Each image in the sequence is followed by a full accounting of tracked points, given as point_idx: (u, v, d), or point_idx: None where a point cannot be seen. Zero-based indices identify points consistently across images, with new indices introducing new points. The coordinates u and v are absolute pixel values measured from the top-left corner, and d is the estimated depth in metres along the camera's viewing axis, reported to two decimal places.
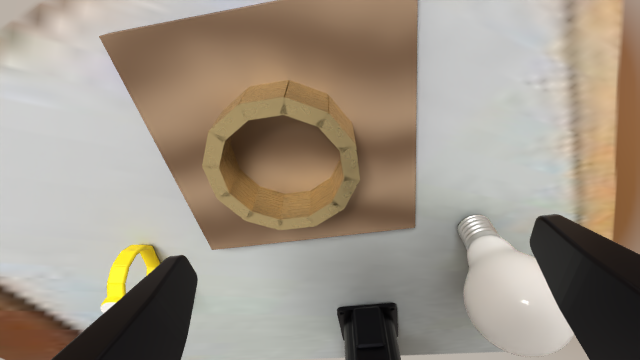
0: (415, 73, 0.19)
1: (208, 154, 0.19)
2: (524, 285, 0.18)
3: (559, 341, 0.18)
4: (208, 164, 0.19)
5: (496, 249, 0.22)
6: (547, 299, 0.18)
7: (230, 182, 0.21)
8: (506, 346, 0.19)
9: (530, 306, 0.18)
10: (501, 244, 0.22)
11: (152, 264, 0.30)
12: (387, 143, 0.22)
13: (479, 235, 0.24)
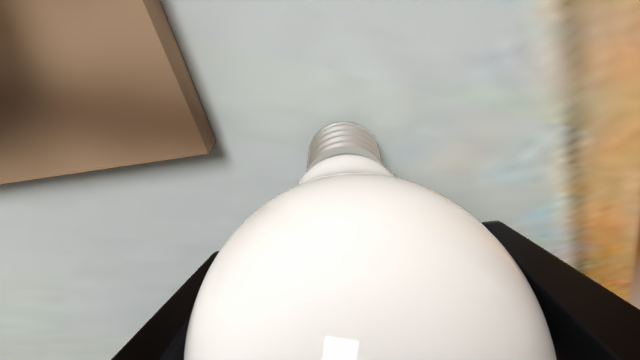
0: None
1: None
2: (298, 275, 0.04)
3: None
4: None
5: (327, 175, 0.07)
6: (383, 351, 0.03)
7: None
8: None
9: None
10: (352, 166, 0.08)
11: None
12: None
13: (322, 157, 0.10)
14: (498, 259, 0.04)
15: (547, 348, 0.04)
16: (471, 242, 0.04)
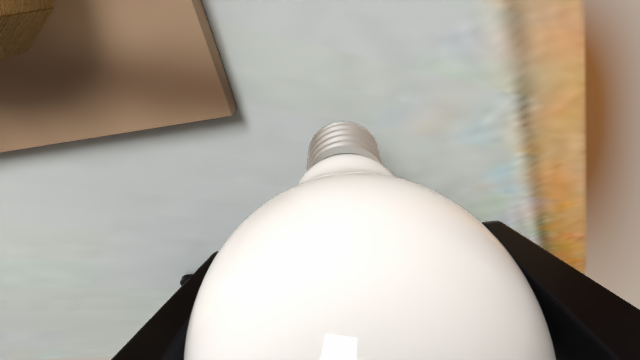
0: None
1: None
2: (298, 273, 0.04)
3: None
4: None
5: (327, 175, 0.07)
6: (382, 350, 0.03)
7: None
8: None
9: None
10: (352, 165, 0.08)
11: None
12: None
13: (322, 157, 0.10)
14: (497, 258, 0.04)
15: (546, 347, 0.04)
16: (471, 241, 0.04)
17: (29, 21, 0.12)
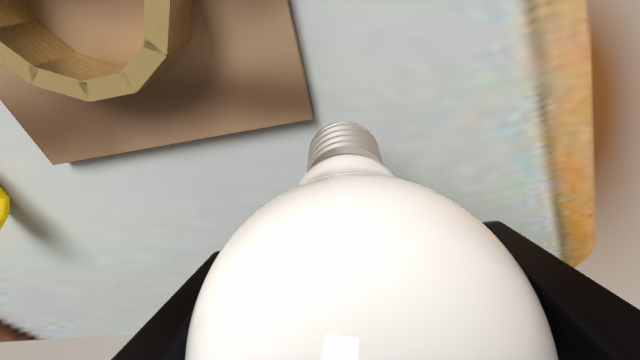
0: None
1: None
2: (299, 275, 0.04)
3: None
4: None
5: (328, 175, 0.07)
6: (384, 351, 0.03)
7: None
8: None
9: None
10: (353, 166, 0.08)
11: None
12: None
13: (323, 157, 0.10)
14: (500, 259, 0.04)
15: (549, 348, 0.04)
16: (473, 242, 0.04)
17: (177, 53, 0.16)
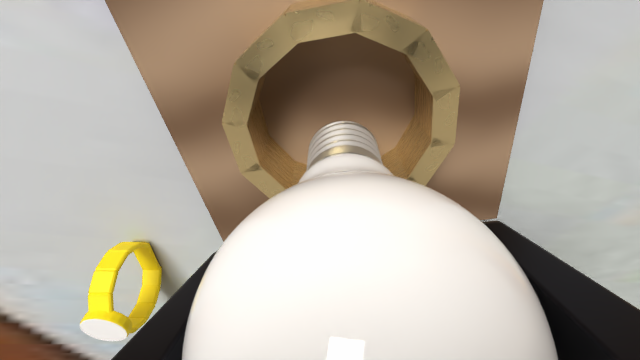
0: None
1: (232, 103, 0.12)
2: (297, 274, 0.04)
3: None
4: (231, 119, 0.13)
5: (327, 174, 0.07)
6: (382, 351, 0.03)
7: (260, 150, 0.14)
8: None
9: None
10: (352, 164, 0.08)
11: (149, 266, 0.24)
12: (482, 97, 0.15)
13: (322, 156, 0.10)
14: (499, 258, 0.04)
15: (548, 348, 0.04)
16: (472, 241, 0.04)
17: None
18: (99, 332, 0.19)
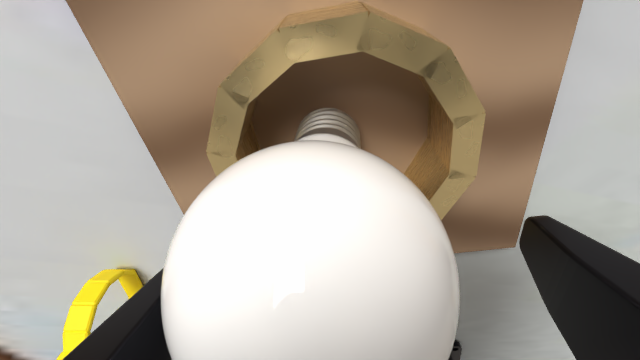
0: None
1: (217, 130, 0.11)
2: (244, 201, 0.05)
3: None
4: (217, 149, 0.11)
5: None
6: (295, 250, 0.04)
7: None
8: None
9: (229, 273, 0.04)
10: (323, 141, 0.09)
11: None
12: (504, 118, 0.13)
13: (303, 136, 0.11)
14: (408, 201, 0.05)
15: (438, 269, 0.05)
16: (386, 186, 0.05)
17: None
18: None
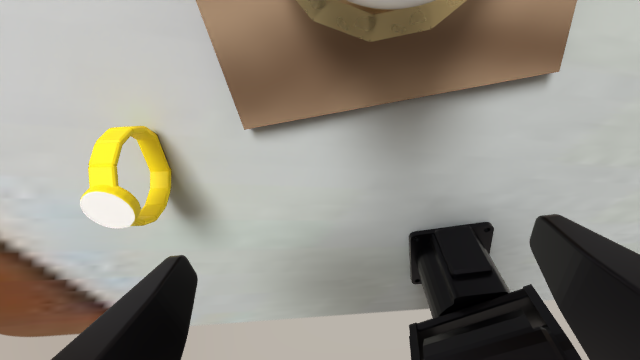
0: None
1: None
2: None
3: None
4: None
5: None
6: None
7: None
8: None
9: None
10: None
11: (157, 166, 0.21)
12: None
13: None
14: None
15: None
16: None
17: None
18: (103, 214, 0.17)
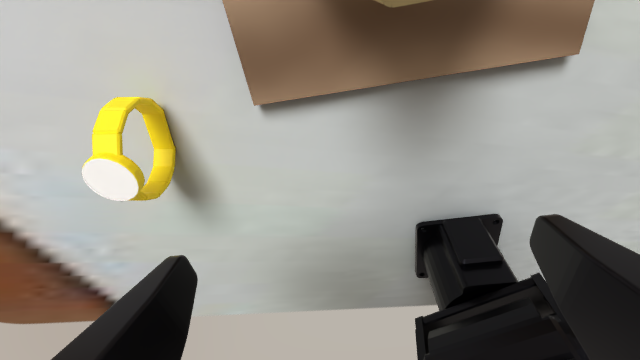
0: None
1: None
2: None
3: None
4: None
5: None
6: None
7: None
8: None
9: None
10: None
11: (162, 143, 0.21)
12: None
13: None
14: None
15: None
16: None
17: None
18: (105, 184, 0.16)
